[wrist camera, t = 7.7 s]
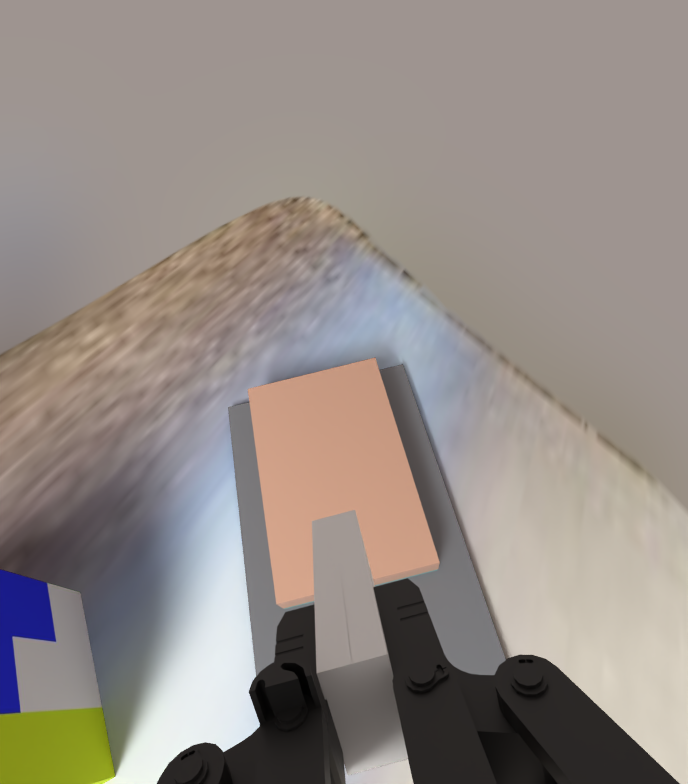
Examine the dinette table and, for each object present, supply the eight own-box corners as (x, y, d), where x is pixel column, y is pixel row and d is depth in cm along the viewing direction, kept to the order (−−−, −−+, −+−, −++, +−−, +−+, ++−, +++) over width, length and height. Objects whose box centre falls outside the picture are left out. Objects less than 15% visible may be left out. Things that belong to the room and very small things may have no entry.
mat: (509, 675, 25) (511, 675, 25) (265, 739, 25) (262, 740, 25) (402, 368, 36) (402, 364, 35) (230, 410, 36) (228, 407, 35)
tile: (439, 562, 26) (375, 357, 33) (276, 604, 26) (247, 388, 33) (437, 570, 28) (376, 373, 35) (284, 609, 28) (255, 403, 35)
